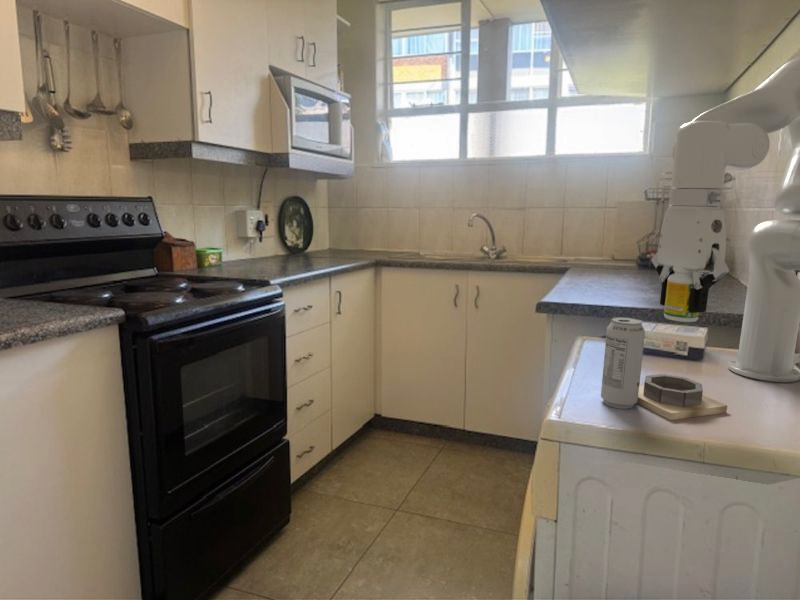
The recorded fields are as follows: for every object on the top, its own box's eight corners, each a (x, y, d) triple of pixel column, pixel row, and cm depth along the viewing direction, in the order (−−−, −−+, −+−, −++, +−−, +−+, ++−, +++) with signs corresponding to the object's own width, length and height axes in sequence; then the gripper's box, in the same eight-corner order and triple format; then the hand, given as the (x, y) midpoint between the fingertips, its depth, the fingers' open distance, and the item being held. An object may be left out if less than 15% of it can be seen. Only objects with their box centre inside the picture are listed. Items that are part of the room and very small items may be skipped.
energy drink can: (644, 409, 93) (653, 324, 90) (611, 410, 92) (620, 324, 89) (624, 396, 99) (633, 315, 96) (593, 397, 98) (601, 316, 95)
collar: (671, 388, 103) (673, 369, 103) (726, 412, 92) (729, 391, 91) (619, 394, 100) (621, 375, 99) (670, 420, 88) (672, 398, 88)
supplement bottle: (674, 314, 97) (680, 260, 95) (704, 320, 92) (711, 264, 90) (656, 317, 94) (662, 262, 92) (687, 323, 89) (694, 266, 87)
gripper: (760, 201, 82) (743, 318, 86) (672, 199, 98) (661, 298, 102) (722, 201, 80) (707, 320, 84) (638, 199, 96) (628, 299, 100)
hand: (682, 307), depth 93 cm, fingers closed on supplement bottle, 5 cm apart
